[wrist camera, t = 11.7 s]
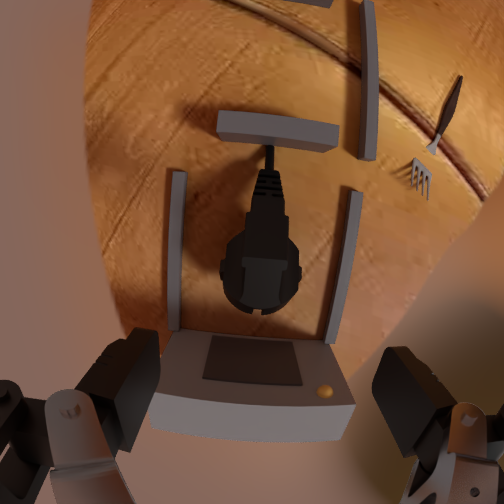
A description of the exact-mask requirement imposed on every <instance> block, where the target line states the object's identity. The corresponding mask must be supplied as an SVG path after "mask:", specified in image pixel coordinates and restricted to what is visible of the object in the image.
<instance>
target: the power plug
mask: <svg viewBox="0 0 504 504" xmlns="http://www.w3.org/2000/svg"><path fill="white" fill-rule="evenodd" d="M282 190H283V189H282V185H281V180H280V173H279V171H277V170H274V146H273V145H267V146H266V155H265V169H261V170H260V171H259V174H258V178H257V181H256V185H255V189H254V192H253V196H252V200H251V210H250V212H247V213H246V220H245V230H243V231H242V232H240V233H239V234H238V235H236V236H235V237H234V238H233V239H231V240H230V241H229V243H228V244H227V249H226V258H225V259H224V260H221V263H220V271H219V273H220V279H221V280H222V281H223V289H224V293H225V295H226V297H227V299H228V300H229V301H230V302H231V304H232V305H234V306H235V307H236V308H237V309H239V310H241V311H243V312H245V313H248V314H252V312H253V309H259V310H262V311H261V315H267V314H271V313H274V312H276V311H278V310H280V309H281V308H283V307H284V306H285V305H286V304H287V303H288V302H289V301H290V299H291V298H292V297H293V296H294V295H295V293H296V292H297V291H298V283H299V282H300V280H301V279H302V267H300V266H299V250H298V248H297V247H296V245H295V244H294V243H293V242H292V241H291V240H290V239H289V238H288V235H289V217H288V216H286V215H285V200H284V198H283V197H284V195H283V192H282Z"/></svg>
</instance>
